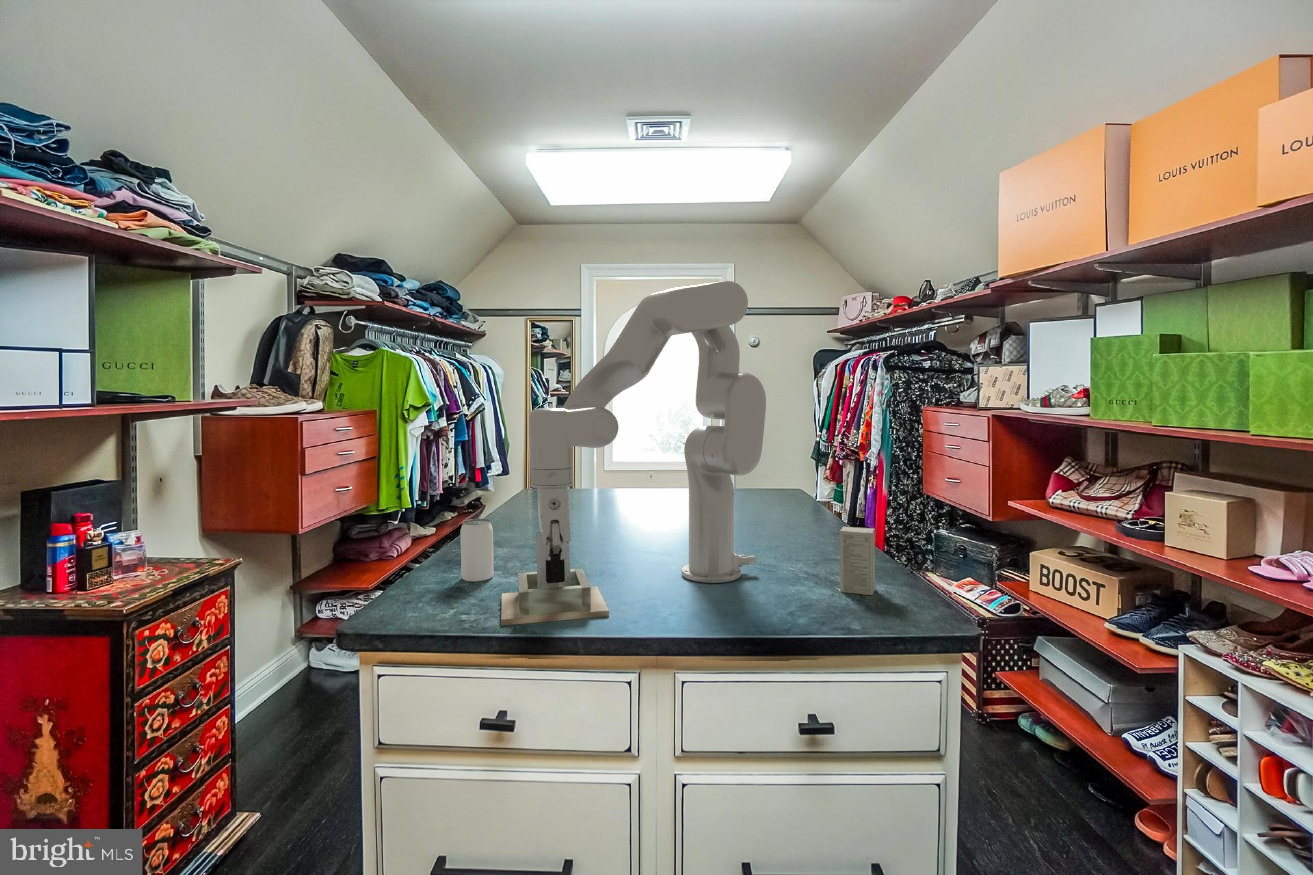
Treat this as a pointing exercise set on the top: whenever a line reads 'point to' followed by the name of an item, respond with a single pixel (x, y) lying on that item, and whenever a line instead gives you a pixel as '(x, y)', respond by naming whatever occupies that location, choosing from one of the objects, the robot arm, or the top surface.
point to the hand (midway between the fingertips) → (553, 575)
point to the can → (476, 550)
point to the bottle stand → (552, 601)
